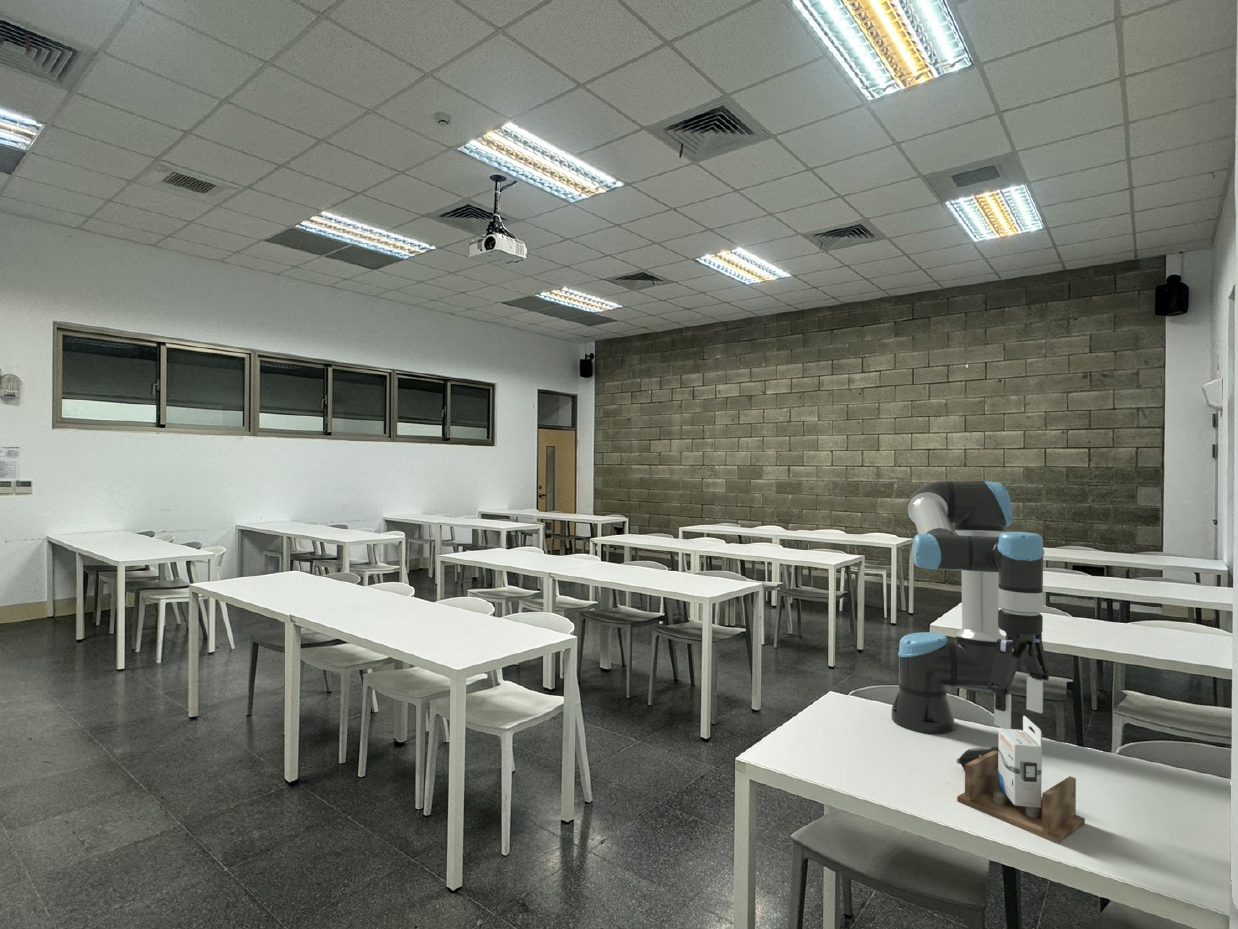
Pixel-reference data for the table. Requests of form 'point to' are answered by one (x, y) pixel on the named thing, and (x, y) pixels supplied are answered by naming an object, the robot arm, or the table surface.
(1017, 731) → the ink box
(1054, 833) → the peg cradle
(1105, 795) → the table surface
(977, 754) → the gun
